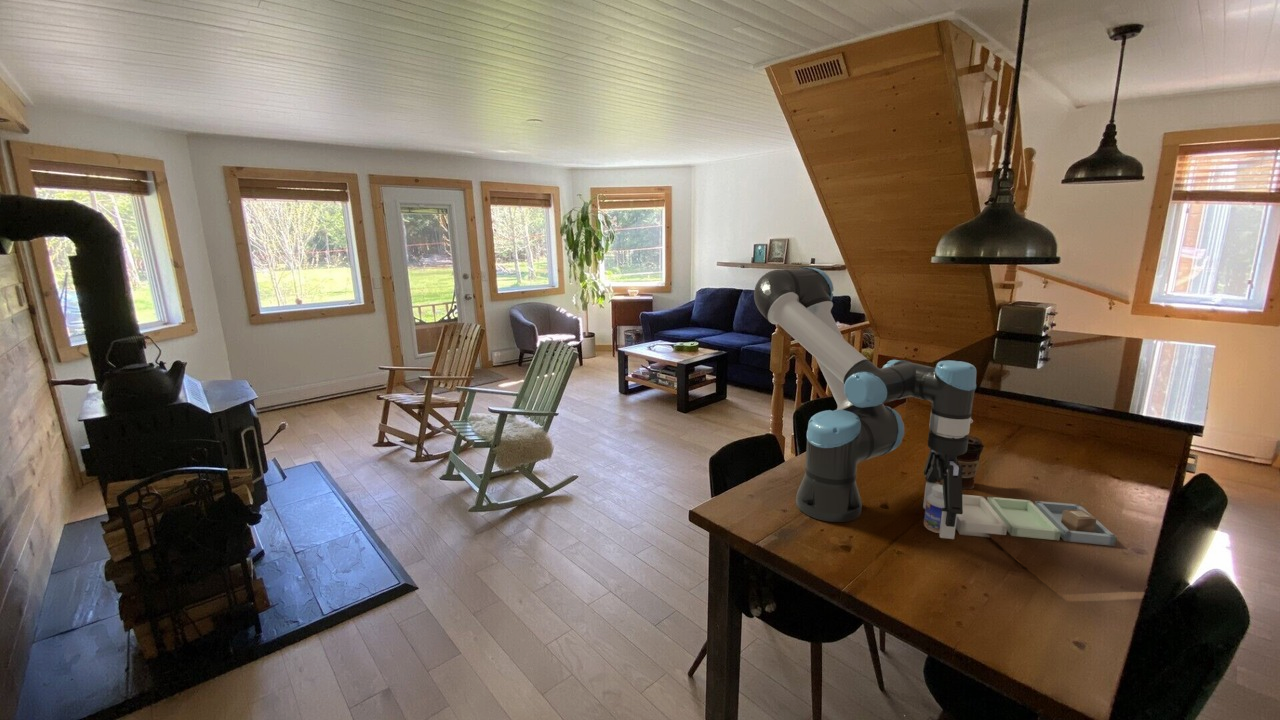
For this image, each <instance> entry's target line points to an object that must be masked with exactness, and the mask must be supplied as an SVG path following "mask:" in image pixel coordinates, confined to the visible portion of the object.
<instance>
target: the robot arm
mask: <svg viewBox="0 0 1280 720" xmlns="http://www.w3.org/2000/svg"><path fill="white" fill-rule="evenodd" d="M833 291H834V284H833V281H832V280H831V278H830V276H829V275H828V274H827V273H826V272H825V271H823V270H822V269H819V268H815V267H814V268H813V267H807V266H806V267H800V268H787V269H774V270H773V269H772V270H770V271H768V272H766V273H765V274H764V275H762V276H761V277H759V279H758V280H757V282H756V284H755V287H754V290H753V297H754V298H753V299H754V300H753V301H754V303H755V306H756V307H757V309H758V311H759V312H760V314H761V315H762V316H763V317H764V318H765V319H766V320H767V321H768V322H769V323H771V324H772V325H779V327H781V328H782V329H783V330H784V331H785V332H786V333H787V334H788V335H790V337H792V339H794V340H795V342H797V343H799V344H800V346H802V347H803V348H804V349H805V350H806V351H807V352H808V353H809V354H810V355H812V357H814V358H815V361H816V362H817V364H818V366H819V369H820V371H821V372H822V375H823V377H824V379H825V382H826V383H827V385H828V387H829V390H830V391H831V394H832V396H833V398H834V400H835V402H836V406H837V408H836V409H834V410H831V409H828V410H827V409H826V410H822V411H819V412H817V413H815V414H814V415H812V416H811V417H810V419H809V420H808V424H807V430H806V447H805V471H804V476H803V478H802V480H801V482H800V484H799V487H798V489H797V492H796V494H795V495H796V497H795V504H796V507H797V508H798V510H799V511H800V512H802V513H804V515H806V516H808V517H811V518H813V519H816V520H819V521H824V522H829V523H847V522H852V521H854V520H856V519H858V518H859V517H860V515H861V514H862V507H863V505H862V504H863V503H862V499H861V495H860V491H859V487H858V484H857V471H858V470H857V469H858V463H860V462H861V463H862V462H865V461H867V460H871V459H873V458H876V457H881V456H884V455H887V454H889V453H890V452H893V451H895V450H896V449H897V448H898V447H900V445H901V444H902V443H903V439H904V436H905V425H904V421H903V419H902V416H901V415H900V414H899V412H898V411H896V410H895V409H894V408H892V407H890V406H887V405H884V404H887V403H890V402H893V401H894V402H895V401H898V400H902V399H906V398H915V399H920V400H922V401H927V402H930V403H931V410H930V417H929V426H928V427H929V431H928V435H927V436H928V437H927V447H928V448H929V453H928V456H927V459H926V462H925V465H924V468H923V469H924V470H923V472H922V473H923V476H925V477H924V480H925V481H926V482H925V487H924V497H923V505H922V508H923V509H924V510H926V502H927V496H928V495H929V494H931V493H932V486H934V485H942V486H943V497H944V507H945V508H941V511H942V516H941V524H940V533H938V535H939V536H938V537H939V538H941V539H950V540H955V535H956V521H957V514H962V513H963V506H962V495H963V489H962V471H963V467H962V466H958V460H957V458H956V457H957V456H958V455H962V454H964V453H966V452H967V447H968V439H969V437H968V436H969V434H970V429H971V424H973V422H974V420H973V419H972V412H973V404H974V399H975V392H976V389H977V368H976V367H975V365H974V364H971V363H969V362H966V361H960V360H959V361H958V360H948V359H947V360H940V361H938V362H937V363H936V365H935V367H934V366H933V367H932V366H929V365H924V364H920V363H914V362H911V361H908V360H901V359H900V360H898V359H891V360H889V361H887V362H886V364H884V365H882V368H881V367H880V368H879V367H878V366H877V365H876V364H874V363H873V362H872V361H870V360H869V359H868V358H867V357H865V356H864V354H862V353H861V352H859V351H858V350H857V349H856V348H855V347H854V346H853V345H851V344H850V343H849V342H848V341H846V340H845V338H844V336H843V335H842V333H841V330H840V329H839V326H838V323H836V320H835V319H834V317H833V314H832V308H833V306H834V303H833V301H832V300H833V297H834V293H833ZM940 483H942V484H940Z"/></svg>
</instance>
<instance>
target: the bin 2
mask: <svg viewBox="0 0 1280 720" xmlns="http://www.w3.org/2000/svg"><path fill="white" fill-rule="evenodd" d="M1034 505H1035V506H1036V507H1037V508H1038V509H1039V510H1040V511H1041V512H1042V513H1043V514H1044V515H1045V516H1046V517H1047V518H1048V519H1049V520H1050V521H1051V522H1052V523H1053V524H1054V525H1055V526H1056V527H1057V528H1058V529H1059V530H1060V531H1061V534H1060V538H1061V539H1062V540H1063V541H1064V542H1070V543H1071V542H1072V543H1081V544H1090V545H1091V544H1092V545H1099V546H1102V545H1103V546H1112V547H1115V546H1116V541H1117V536H1116V535H1115V534H1114V533H1112V532H1111V531H1110V530H1109V529H1108V528H1107V527H1106V526H1104V525H1103V524H1102V523H1101V522H1100V521H1099V520H1098V519H1097V520H1096V525H1095V530H1094V533H1091V532H1080V531H1070V530H1068V529H1067V528H1066V527H1065V526H1064V525H1063V524H1062V523H1061V520H1062V514H1063V510H1075V509H1081V510H1083V511H1085V512H1086V513H1088V514H1090V515H1091V516H1093V515H1092V514H1091V513H1090V512H1088V511H1087V510H1086V509H1085V508H1084V507H1083V506H1081V505H1080V504H1076V503H1067V502H1066V503H1065V502H1054V501H1053V502H1052V501H1042V500H1035V501H1034Z"/></svg>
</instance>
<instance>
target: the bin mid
mask: <svg viewBox="0 0 1280 720" xmlns="http://www.w3.org/2000/svg"><path fill="white" fill-rule="evenodd" d="M986 501H987V502H988V503H989V504H990V506H991V507H992V508H993V509H994V511H995V512H996V513H997V514H998V516H999V517H1000V518H1001V519H1002V521H1003V522H1004V523H1005V524H1006V525H1007V532H1008V534H1009V535H1010V536H1012V537H1020V538H1031V539H1039V540H1041V539H1042V540H1049V541H1050V540H1051V541H1060V538H1061V537H1060V534H1061V531H1060V530H1059V529H1058V528H1057V527H1056V526H1055V525H1054V524H1053V523H1052V522H1051V521H1050V520H1049V519H1048V518H1047V517H1046V516H1045V515H1044V514H1043V513H1042V512H1041V511H1040V510H1039V509H1038V508H1037V507H1036V506H1035V503H1034V502H1032V501H1031V500H1030V499H1019V498H1018V499H1017V498H1016V499H1015V498H1008V497H1006V498H1005V497H998V496H997V497H996V496H995V497H994V496H987V499H986Z"/></svg>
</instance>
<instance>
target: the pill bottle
mask: <svg viewBox="0 0 1280 720" xmlns="http://www.w3.org/2000/svg"><path fill="white" fill-rule="evenodd" d="M941 508H945V507H944V497H943V486H942V484H940V485H934V486H932V493H931V494H929V495H928V496H927V502H926V509H924V510H925V511H924V518H923V526H924V527H925V528H926V529H927V530H928V531H930V532H933V533H937V534H939V533H940V524H941V516H942V511H941Z"/></svg>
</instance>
